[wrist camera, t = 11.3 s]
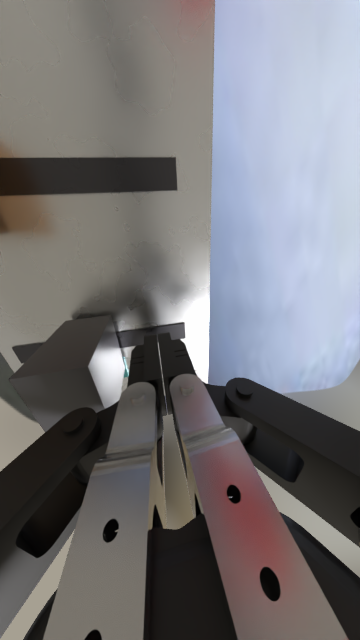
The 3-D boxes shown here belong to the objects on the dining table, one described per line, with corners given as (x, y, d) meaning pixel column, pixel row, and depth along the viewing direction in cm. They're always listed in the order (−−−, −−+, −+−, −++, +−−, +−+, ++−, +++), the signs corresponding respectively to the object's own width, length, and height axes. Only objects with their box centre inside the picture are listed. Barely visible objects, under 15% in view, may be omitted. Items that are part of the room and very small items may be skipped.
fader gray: (65, 320, 10) (8, 379, 6) (110, 315, 10) (88, 366, 6) (86, 373, 11) (55, 446, 7) (124, 367, 12) (114, 433, 8)
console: (-148, 11, 6) (-343, -142, 4) (195, 43, 8) (218, -45, 5) (59, 392, 15) (43, 422, 13) (199, 367, 17) (208, 389, 14)
